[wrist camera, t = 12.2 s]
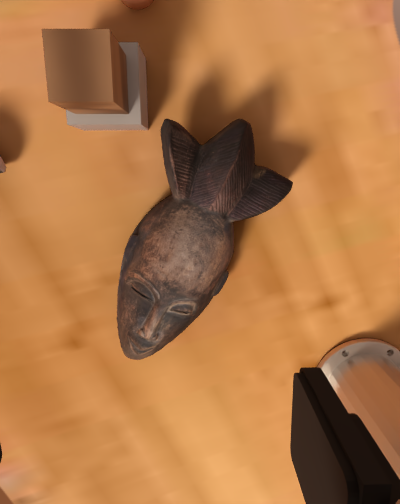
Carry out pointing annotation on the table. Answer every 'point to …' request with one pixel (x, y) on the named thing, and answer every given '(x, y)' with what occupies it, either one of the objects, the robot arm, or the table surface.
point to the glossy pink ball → (137, 3)
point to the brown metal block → (86, 71)
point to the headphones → (2, 165)
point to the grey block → (136, 98)
